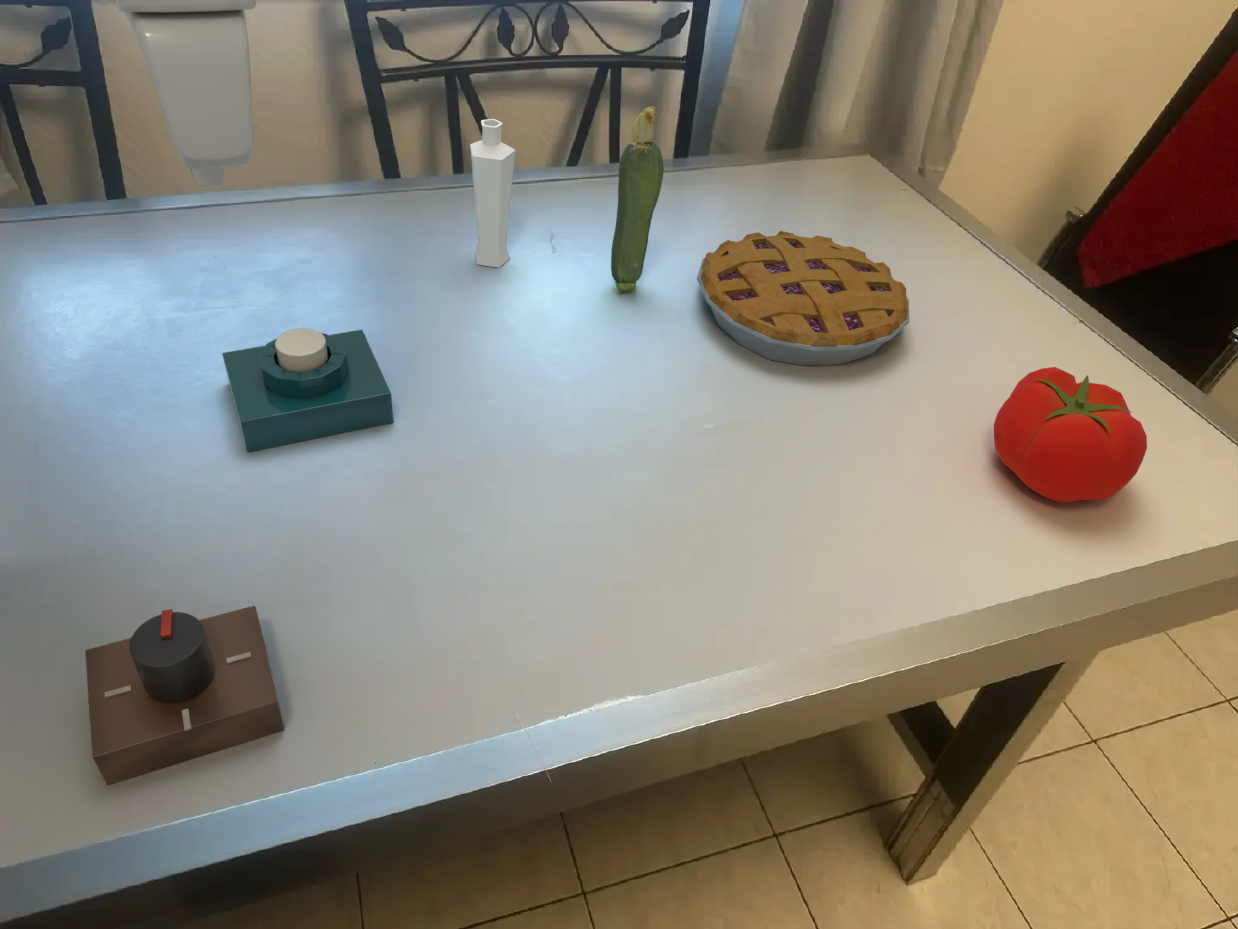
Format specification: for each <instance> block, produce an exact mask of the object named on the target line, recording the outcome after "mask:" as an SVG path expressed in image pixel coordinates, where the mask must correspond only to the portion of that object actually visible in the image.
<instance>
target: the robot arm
mask: <svg viewBox="0 0 1238 929" xmlns="http://www.w3.org/2000/svg"><path fill="white" fill-rule="evenodd" d="M113 1H114V3H115V6H116V9H118V10H119V11H120V12H123V13H124V15H125V16H126V18H127V20H128V21H129V24H130V25H131V27H132V29H133V32H134V33H135V37H136V39H137V41H138V44H139V47H140V50H141V53H142V55H143V58H144V61H145V64H146V68H147V70H148V73H149V76H150V79H151V82H152V85H153V88H154V91H155V94H156V96H157V100H158V103H159V107H160V110H161V113H162V115H163V118H164V122H165V125H166V128H167V130H168V134H169V136H170V139H171V142H172V144H173V147H174V149H175V152H176V155H177V157H178V159H179V161H180V163H181V164H182V165H183V166H184V167H185V168H186V169H190V172H191V175H192V178H193V182H194V183H195V184H196V185H197V186H200V187H208V186H220V185H222V184H223V183H224V182H225V179H226V176H225V170H224V168H228V167H238V166H243V165H247V164H249V163H250V161H251V158H252V156H253V151H254V141H255V140H254V138H255V135H254V134H255V127H254V109H253V108H254V104H253V91H252V90H253V89H252V72H251V71H252V70H251V59H250V58H251V57H250V56H251V55H250V46H249V44H250V43H249V35H248V26H247V18H246V14H245V11H247V10H254V9H255V8H256V6H257V0H113Z"/></svg>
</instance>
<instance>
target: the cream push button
mask: <svg viewBox="0 0 1238 929" xmlns="http://www.w3.org/2000/svg"><path fill="white" fill-rule="evenodd" d="M321 333H322V332H320V331H319V330H316V329H312V328H306V327H305V328H302V327H301V328H294V329H290V330H287V331H284V332H283V333H281V334H280V335H279V336H277V338H276V339H277V340H276V342H275V347H276V352H277V358H278V363H279V364H280V366H281V367H282V368H284V369H286V370H289V371H297V372H302V371H308V370H313V369H317V368H319V367H320V366H322V365H324V364H325V363H326V361H327V359H328V353H327V346H326V339H325V337H324V336H323V334H321Z"/></svg>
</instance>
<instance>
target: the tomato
mask: <svg viewBox="0 0 1238 929" xmlns="http://www.w3.org/2000/svg"><path fill="white" fill-rule="evenodd" d="M1131 413H1133V411H1131V410H1129V407H1128V404H1127V402H1126V400H1125V398H1124V396H1123V394H1122V392H1120V391H1118V390H1116V389H1115V388H1112V387H1111V386H1109V385H1107V384H1103V383H1096V382H1090V380H1089V375H1085V378H1083V379H1082V381H1080V382H1077V381H1076V377H1075V375H1073V374H1071V373H1069V372H1067V371H1065V370H1063V369H1062V368H1061V369H1060V368H1059V367H1056V366H1051V367H1043V368H1040V369H1037V370H1034V371H1031V372H1028V373H1027V374H1026V375H1025V376H1024V377H1022V378H1021V379H1020V380H1019V381H1018V382H1017V384H1016V386H1015V387H1014V388H1013V390H1012V391H1011V393H1010V395H1009V397H1008V398H1007V399H1006V400H1005V401H1004V403H1003V404H1002V405H1001V407H1000V408H999V410H998V412H997V413H996V416H995V420H994V423H993V441H994V449H995V450H996V453H997V454H998V456H999V459H1000V461H1001V462H1002V464H1003V465H1005V466H1006V467H1007V468H1008V469H1010V470H1011V472H1013V473H1014V474H1015V475H1016V476H1017V477H1018V478H1019V480H1021V481H1022V483H1023V484H1024V485H1025V486H1026V487H1027V488H1029V489H1031V490H1032V491H1034V492H1036V493H1037V494H1039V495H1040V496H1042V497H1044V498H1046V499H1047V498H1048V499H1050V500H1052V501H1055V502H1058V503H1060V504H1061V503H1070V502H1077V501H1083V500H1087V501H1104V500H1106V499H1108V498H1110V497H1112V496H1115V494H1117V493H1118V492H1119V491H1120V490H1122V489H1124V488H1125V486H1127V485H1128V484H1129V482H1130V481H1131V480H1132V479H1133V478H1134V477H1135V476H1136V474H1138V471H1139V469H1140V467H1141V466H1142V463H1143V461H1144V459H1145V455H1146V453H1147V450H1148V437H1147V436H1148V435H1147V433H1146V431H1145V429H1144V426H1143V425H1142V422H1140V421H1139V420H1138V419H1136V418H1135V417H1134V416H1132V414H1131Z"/></svg>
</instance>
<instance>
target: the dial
mask: <svg viewBox="0 0 1238 929" xmlns="http://www.w3.org/2000/svg"><path fill="white" fill-rule="evenodd" d="M199 620H200V619H198V617H195V615H192V614H189V613H186V612H181V611H173V608H170V609H164V610H161V614H158V615H155V616H153V617H151V618H149V619H147V620H146V621H144V622H143V623H142V624H140V625H139V626H138V627H137V629H135V631H134V632H133V634H132V636H131V637H130V638H131V640H130V644H129V650H130V654H131V656H132V659H133V661H134V663H135V666H136V668H137V671H138V673H139V676H140V678H141V681H142V683H143V686H144V688H145V690H146V692H147V693H148V695H149V696H151V697H152V698H154V699H155V700H158V701H161V702H168V703H173V702H180V701H184V700H187V699H190V698H192V697H194V696H196V695H197V694H199V693H200V692H202V691H203V690H204V689H205V688H206V687H207V686H208V685H209V683H210V682H211V680H212V678H213V676H214V672H215V664H214V660H213V657H212V654H211V651H210V648H209V644H208V641H207V638H206V635H205V632H204V629H203V626H202V624H201V622H200V621H199Z"/></svg>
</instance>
